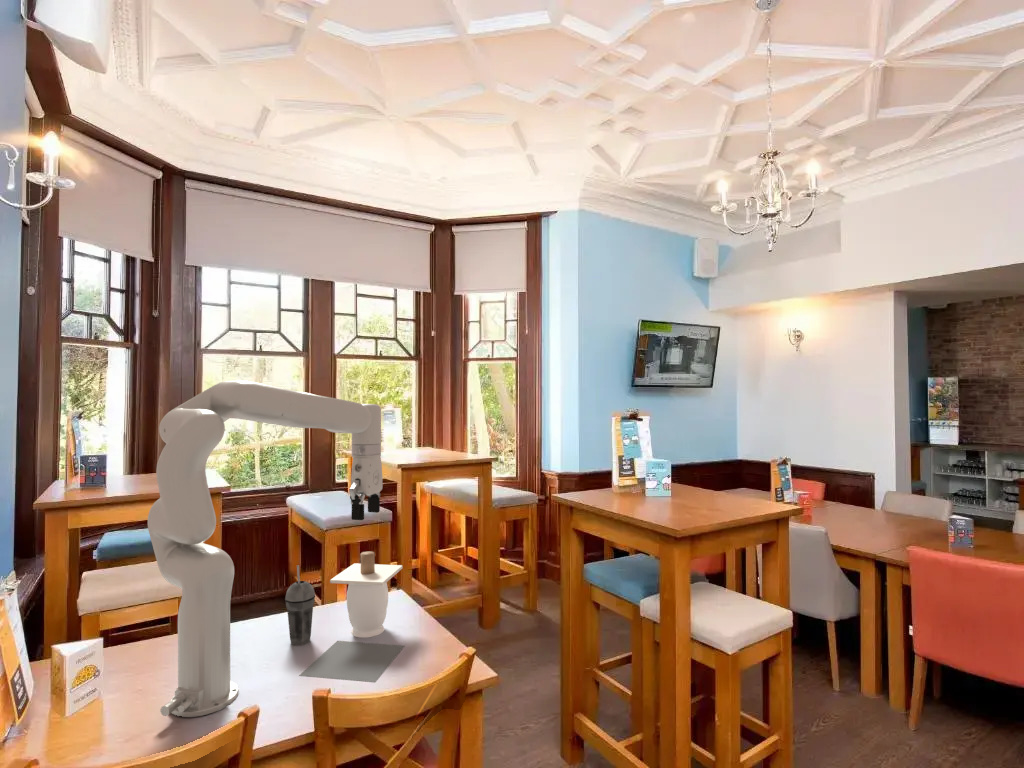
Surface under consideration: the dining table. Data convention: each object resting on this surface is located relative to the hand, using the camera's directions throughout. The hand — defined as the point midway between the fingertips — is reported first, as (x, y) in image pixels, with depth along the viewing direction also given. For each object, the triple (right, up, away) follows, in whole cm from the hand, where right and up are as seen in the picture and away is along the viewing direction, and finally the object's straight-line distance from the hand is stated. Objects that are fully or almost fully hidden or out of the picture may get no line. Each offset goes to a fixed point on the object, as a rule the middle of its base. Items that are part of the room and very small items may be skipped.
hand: (366, 515), depth 151 cm
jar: (+1, -31, 0) cm, 31 cm away
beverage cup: (-15, -31, -6) cm, 35 cm away
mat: (+2, -31, -16) cm, 35 cm away
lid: (0, -16, 0) cm, 16 cm away
